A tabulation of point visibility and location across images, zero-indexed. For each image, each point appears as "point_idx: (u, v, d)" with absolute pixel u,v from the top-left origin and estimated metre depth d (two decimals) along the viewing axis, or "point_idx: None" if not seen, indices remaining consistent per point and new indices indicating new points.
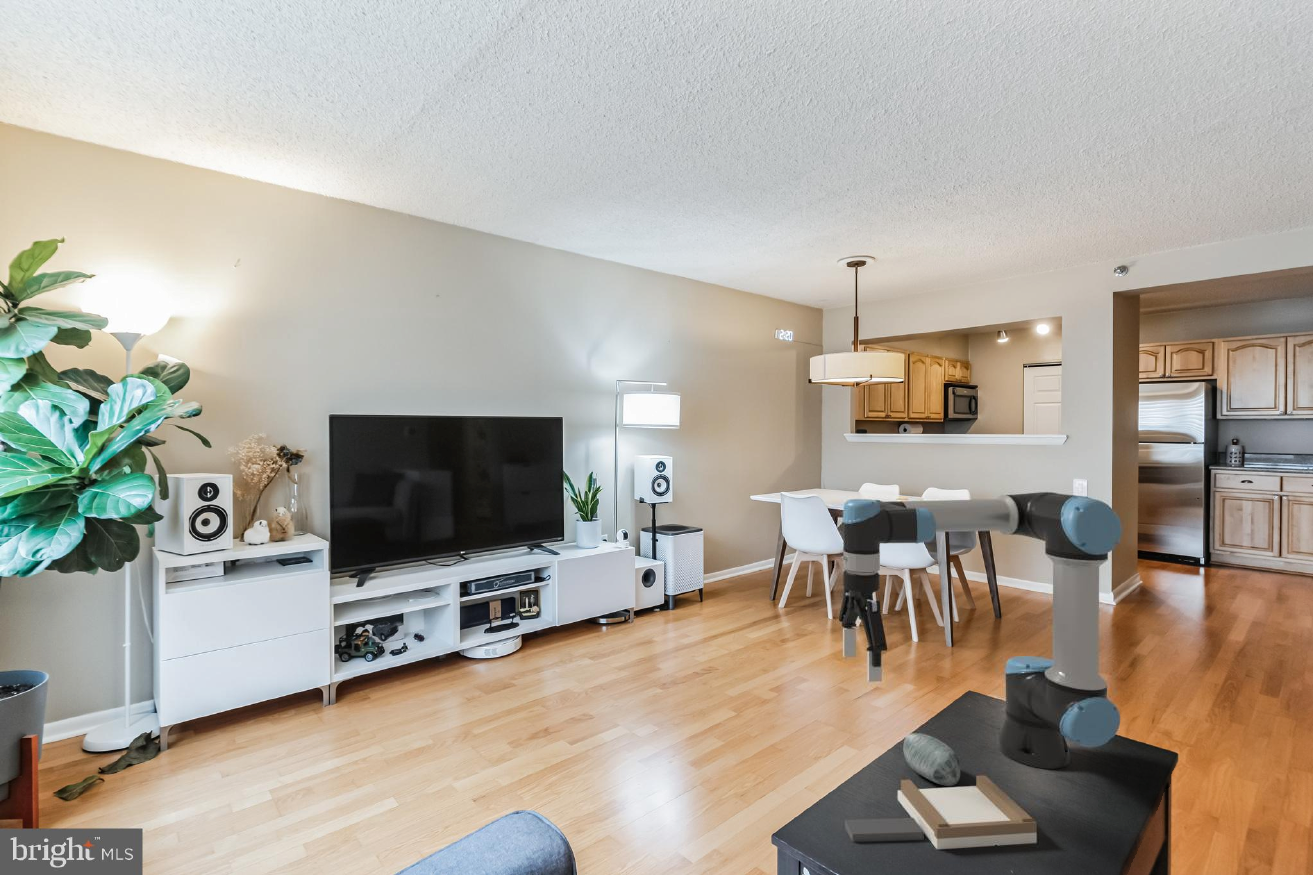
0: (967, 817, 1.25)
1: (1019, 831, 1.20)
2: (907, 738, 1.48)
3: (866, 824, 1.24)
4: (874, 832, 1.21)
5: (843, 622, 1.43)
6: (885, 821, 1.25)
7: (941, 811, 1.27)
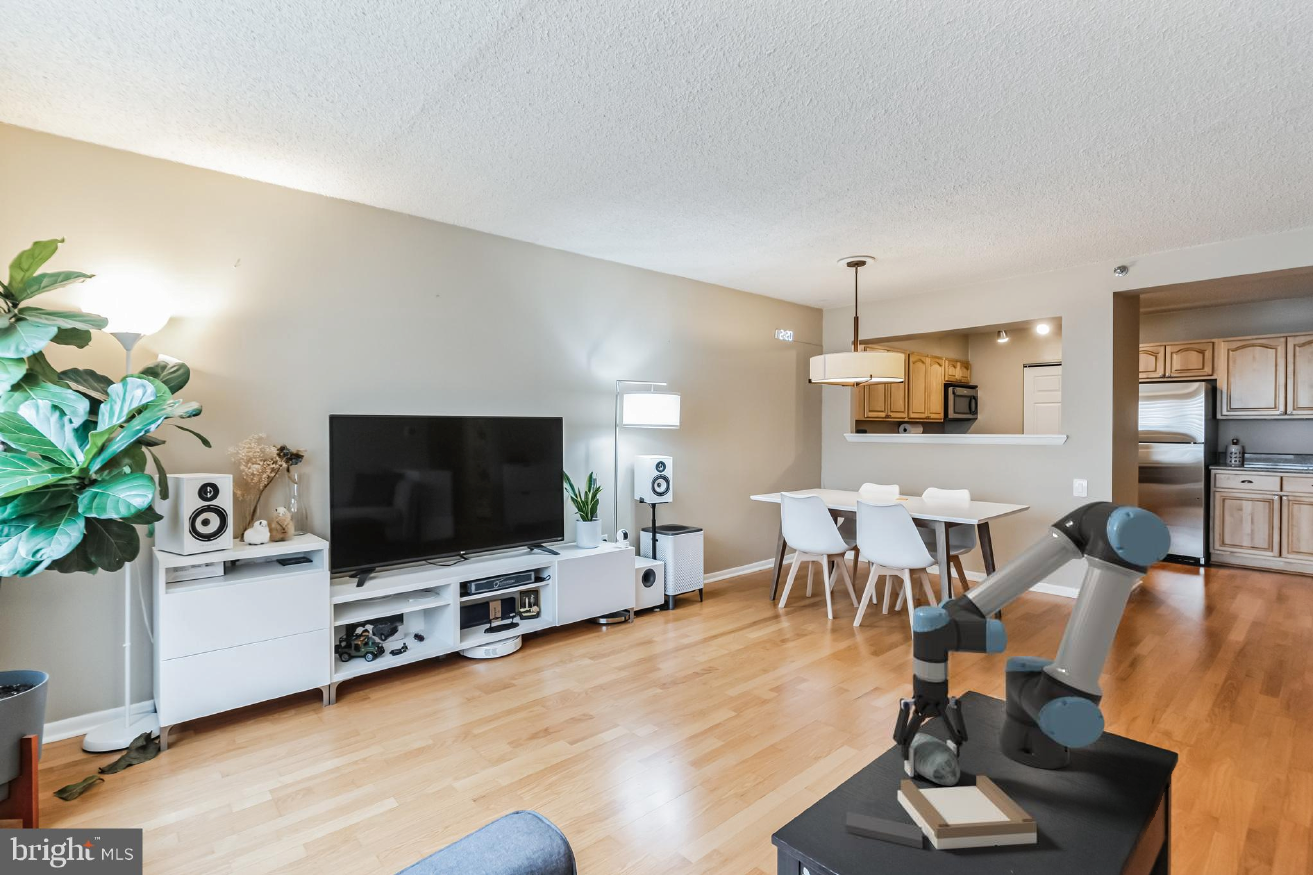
0: (967, 817, 1.25)
1: (1019, 831, 1.20)
2: None
3: (866, 820, 1.25)
4: (869, 828, 1.23)
5: None
6: (888, 822, 1.24)
7: (941, 811, 1.27)
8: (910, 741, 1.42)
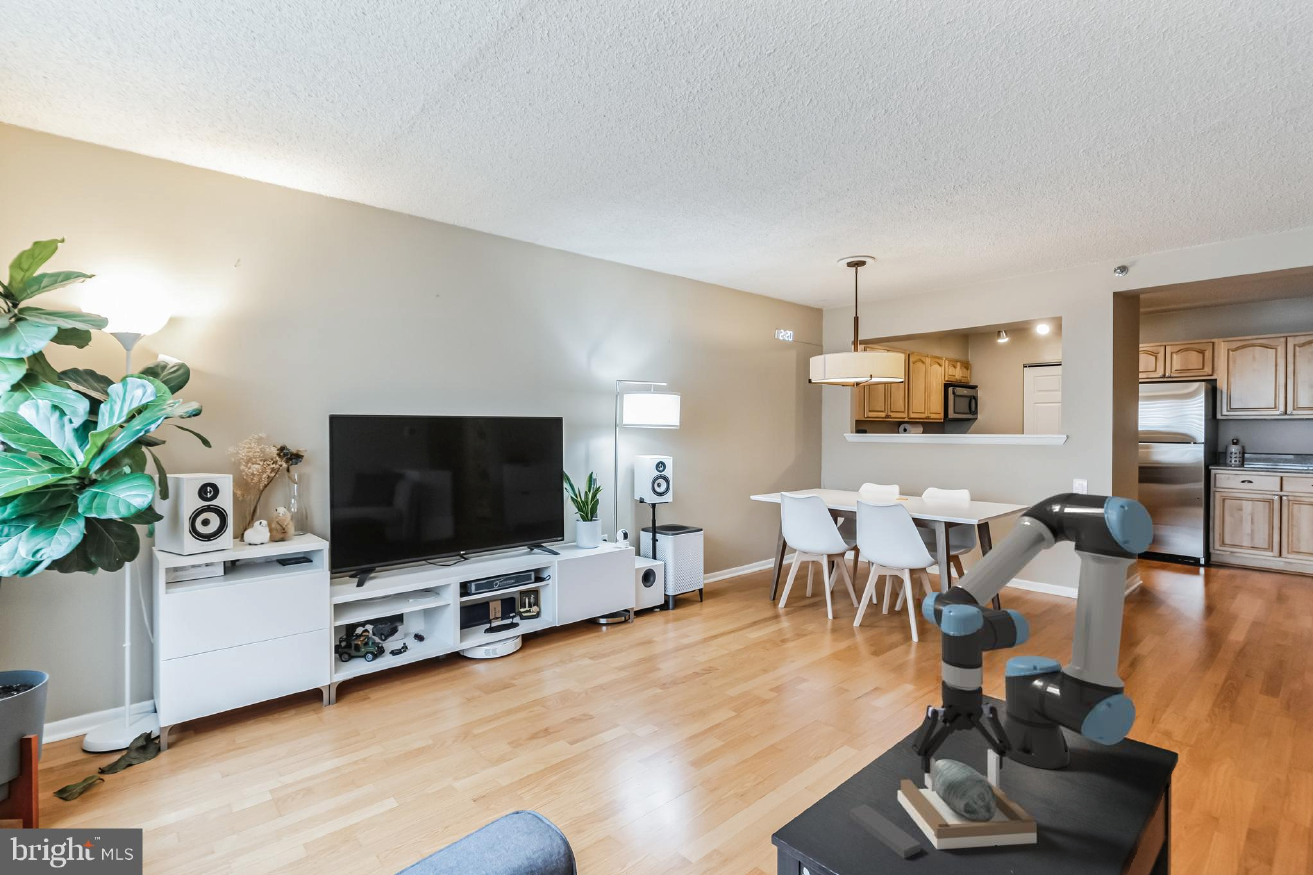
0: (967, 817, 1.25)
1: (1019, 831, 1.20)
2: (936, 764, 1.32)
3: (872, 815, 1.27)
4: (866, 821, 1.25)
5: None
6: (891, 826, 1.23)
7: (941, 811, 1.27)
8: (932, 752, 1.26)
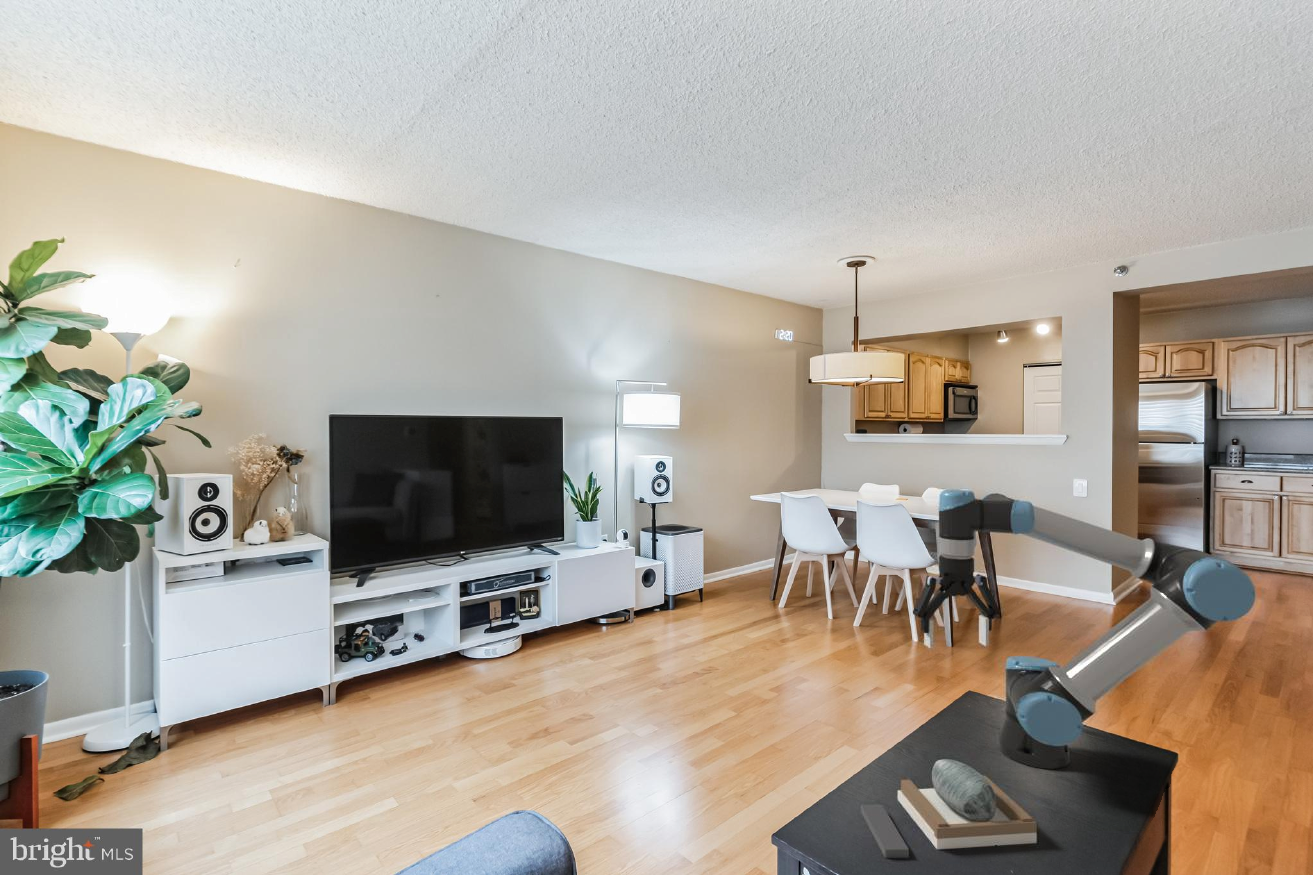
0: (967, 817, 1.25)
1: (1019, 831, 1.20)
2: (936, 764, 1.32)
3: (880, 815, 1.27)
4: (869, 817, 1.26)
5: None
6: (891, 828, 1.23)
7: (941, 811, 1.27)
8: (930, 614, 1.45)
